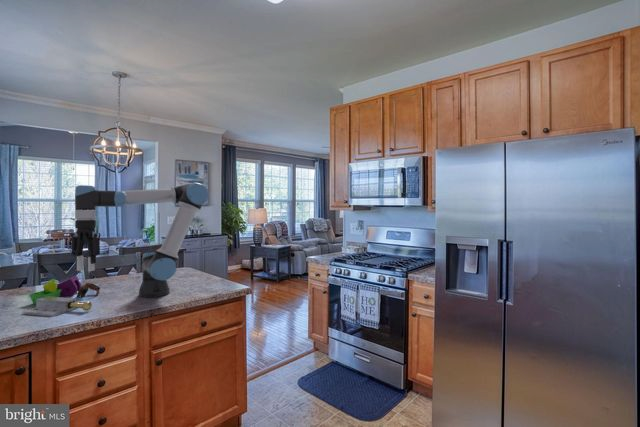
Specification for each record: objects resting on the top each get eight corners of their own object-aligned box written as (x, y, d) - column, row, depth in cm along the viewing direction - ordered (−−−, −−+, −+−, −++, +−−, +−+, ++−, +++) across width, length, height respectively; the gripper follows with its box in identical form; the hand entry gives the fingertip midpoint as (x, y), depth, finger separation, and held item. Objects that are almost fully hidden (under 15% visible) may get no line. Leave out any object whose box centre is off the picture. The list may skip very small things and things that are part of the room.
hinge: (87, 304, 160) (87, 295, 160) (52, 316, 142) (52, 305, 142) (60, 302, 163) (60, 293, 162) (22, 314, 145) (22, 303, 145)
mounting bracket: (41, 310, 170) (78, 292, 175) (32, 296, 168) (70, 278, 174) (48, 305, 178) (84, 288, 184) (40, 291, 177) (76, 275, 183)
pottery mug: (79, 295, 178) (88, 281, 180) (96, 303, 179) (105, 288, 181) (68, 295, 166) (78, 280, 169) (86, 303, 167) (96, 288, 170)
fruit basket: (48, 298, 170) (48, 276, 170) (65, 298, 170) (64, 277, 170) (28, 305, 159) (27, 281, 158) (45, 305, 158) (45, 282, 158)
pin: (91, 309, 151) (91, 300, 151) (84, 311, 148) (84, 303, 147) (59, 306, 154) (59, 298, 154) (51, 309, 151) (51, 300, 151)
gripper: (109, 219, 151) (110, 269, 151) (75, 219, 154) (76, 268, 155) (95, 220, 144) (96, 273, 144) (60, 219, 147) (61, 271, 147)
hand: (85, 270), depth 149 cm, fingers open, 5 cm apart
